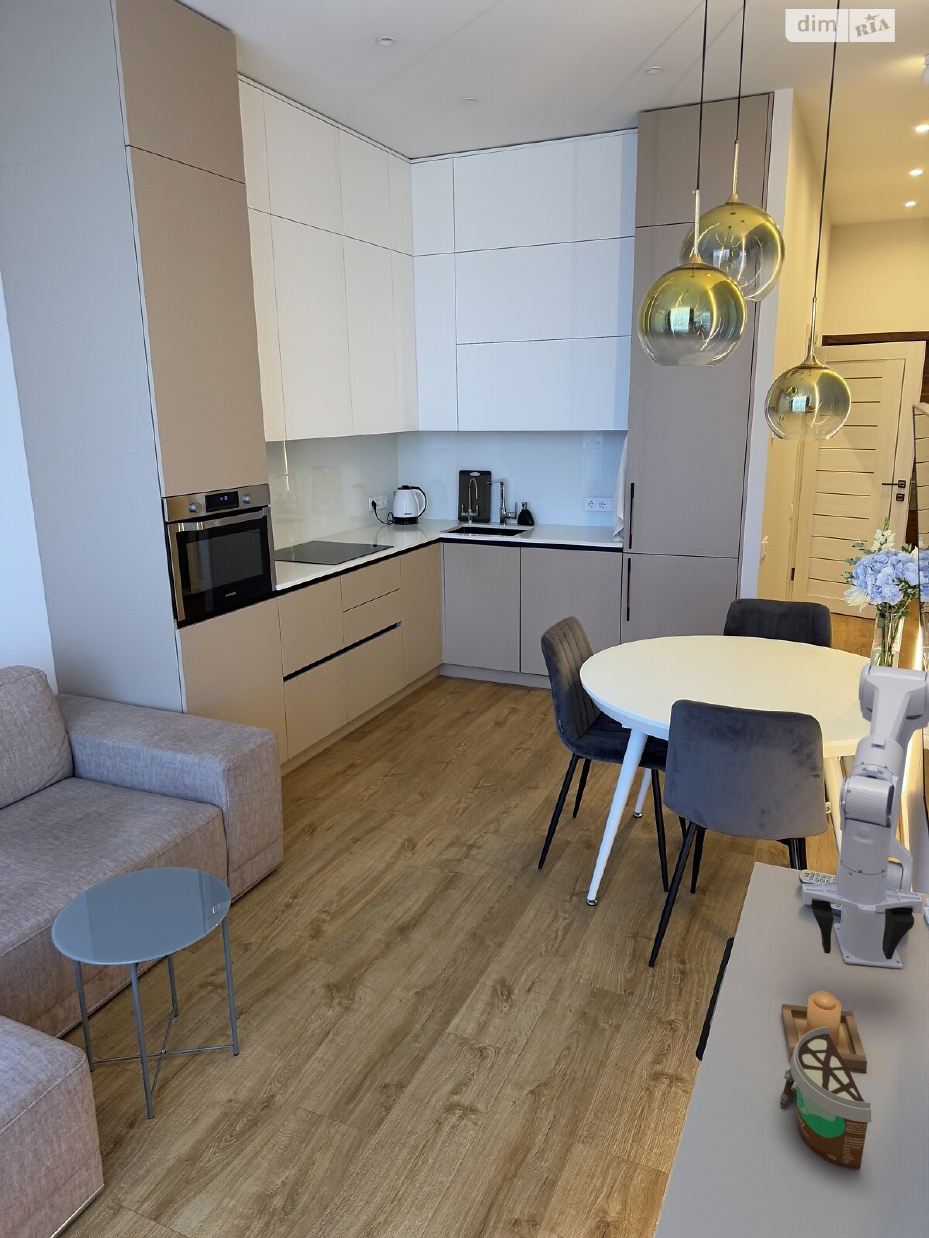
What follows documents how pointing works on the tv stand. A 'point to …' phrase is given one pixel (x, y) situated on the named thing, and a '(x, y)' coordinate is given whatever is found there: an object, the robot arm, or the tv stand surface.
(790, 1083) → the wooden post with brackets
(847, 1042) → the tray
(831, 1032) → the wooden dowel peg
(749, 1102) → the tv stand surface
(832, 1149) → the food container
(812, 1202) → the tv stand surface
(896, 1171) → the tv stand surface
